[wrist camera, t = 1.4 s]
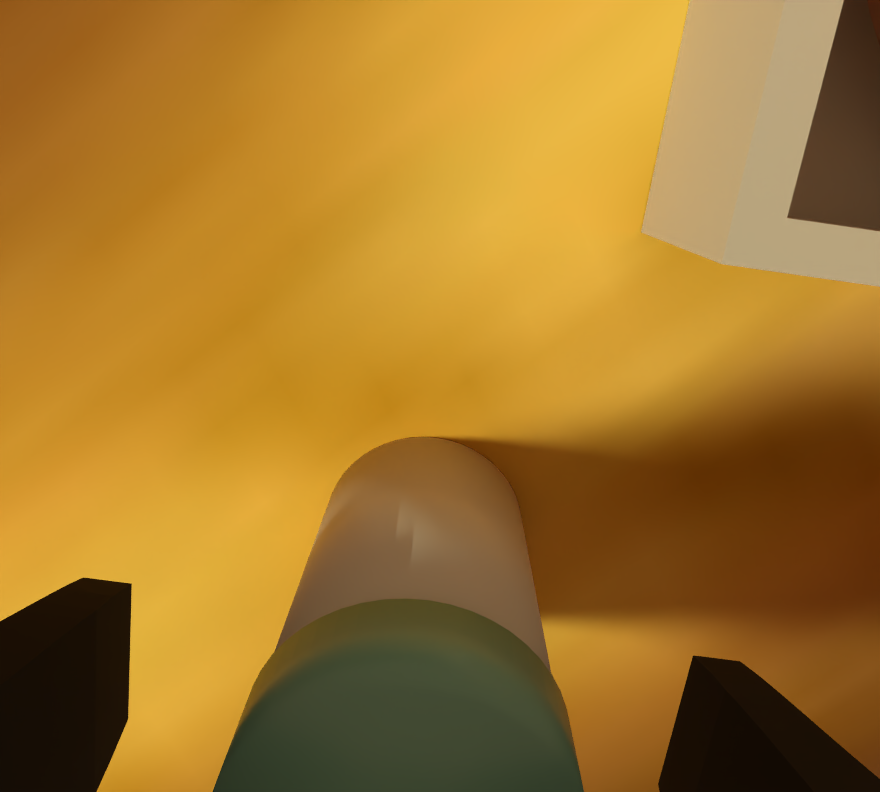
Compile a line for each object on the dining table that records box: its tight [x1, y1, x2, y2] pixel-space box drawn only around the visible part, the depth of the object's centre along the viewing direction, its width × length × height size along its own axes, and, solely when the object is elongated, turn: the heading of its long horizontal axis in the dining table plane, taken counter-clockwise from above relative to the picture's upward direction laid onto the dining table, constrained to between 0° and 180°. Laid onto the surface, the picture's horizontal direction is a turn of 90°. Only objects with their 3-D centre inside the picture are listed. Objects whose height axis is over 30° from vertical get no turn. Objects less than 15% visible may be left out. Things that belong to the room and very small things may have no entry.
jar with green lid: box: [213, 437, 584, 792], centre depth 11 cm, size 4×4×7 cm
